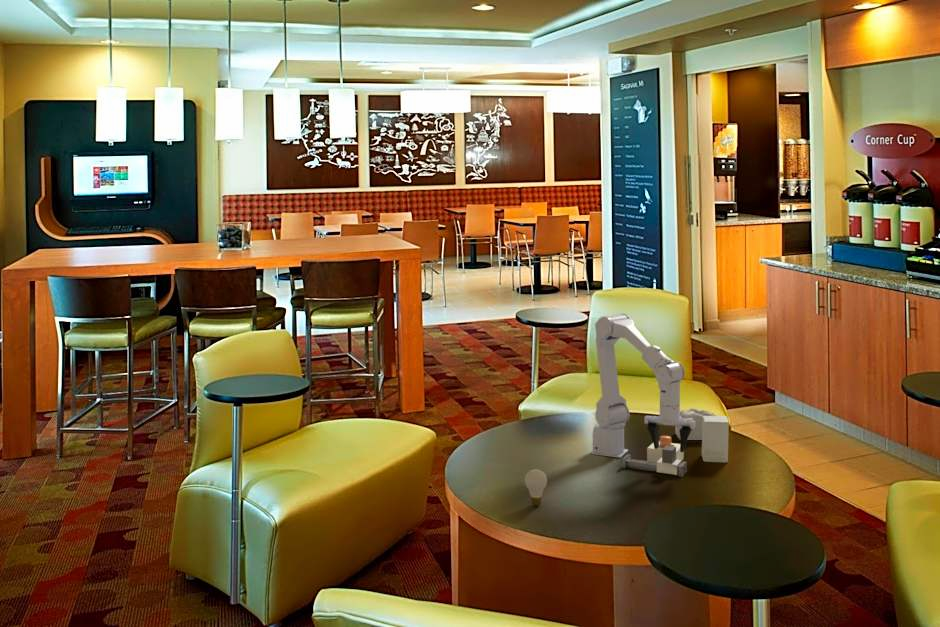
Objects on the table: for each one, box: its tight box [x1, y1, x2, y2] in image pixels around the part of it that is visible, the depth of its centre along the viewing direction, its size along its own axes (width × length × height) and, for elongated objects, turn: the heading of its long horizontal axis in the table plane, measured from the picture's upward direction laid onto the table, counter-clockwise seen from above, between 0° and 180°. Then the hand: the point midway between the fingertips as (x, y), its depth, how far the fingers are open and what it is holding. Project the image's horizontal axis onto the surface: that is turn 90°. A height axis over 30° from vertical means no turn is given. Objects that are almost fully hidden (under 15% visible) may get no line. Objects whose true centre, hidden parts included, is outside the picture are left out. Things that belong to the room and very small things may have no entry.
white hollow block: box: [646, 440, 685, 462], centre depth 267 cm, size 9×8×4 cm
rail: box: [621, 453, 688, 478], centre depth 259 cm, size 18×5×3 cm, turn 61°
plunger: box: [659, 435, 672, 448], centre depth 266 cm, size 3×3×5 cm
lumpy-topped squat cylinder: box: [674, 407, 717, 440], centre depth 291 cm, size 10×13×9 cm
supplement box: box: [701, 415, 730, 463], centre depth 267 cm, size 7×7×13 cm
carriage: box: [656, 446, 682, 476], centre depth 256 cm, size 6×5×7 cm
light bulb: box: [524, 468, 548, 507], centre depth 232 cm, size 6×6×10 cm
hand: (669, 449), depth 255 cm, fingers open, 7 cm apart
